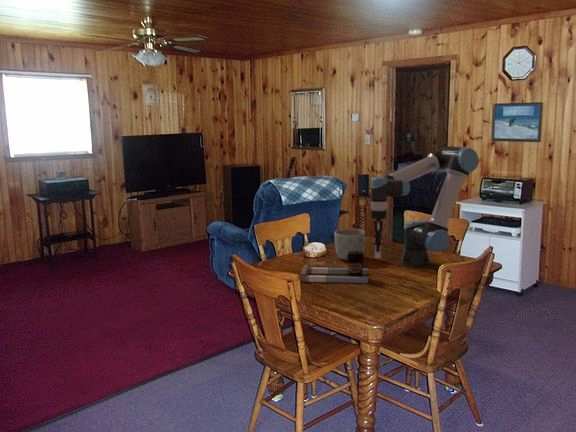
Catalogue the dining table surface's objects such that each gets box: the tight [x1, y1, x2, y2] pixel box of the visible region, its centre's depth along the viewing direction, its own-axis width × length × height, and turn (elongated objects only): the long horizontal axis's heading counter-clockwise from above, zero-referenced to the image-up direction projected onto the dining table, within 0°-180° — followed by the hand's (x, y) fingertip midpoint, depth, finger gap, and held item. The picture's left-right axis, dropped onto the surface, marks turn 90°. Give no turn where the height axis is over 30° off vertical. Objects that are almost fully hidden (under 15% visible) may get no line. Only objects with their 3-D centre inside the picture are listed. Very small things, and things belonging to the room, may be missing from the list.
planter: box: [333, 228, 366, 261], centre depth 291 cm, size 17×17×15 cm
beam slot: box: [300, 264, 369, 284], centre depth 259 cm, size 32×15×4 cm, turn 81°
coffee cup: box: [346, 251, 365, 277], centre depth 257 cm, size 9×8×13 cm
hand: (377, 257), depth 254 cm, fingers closed
